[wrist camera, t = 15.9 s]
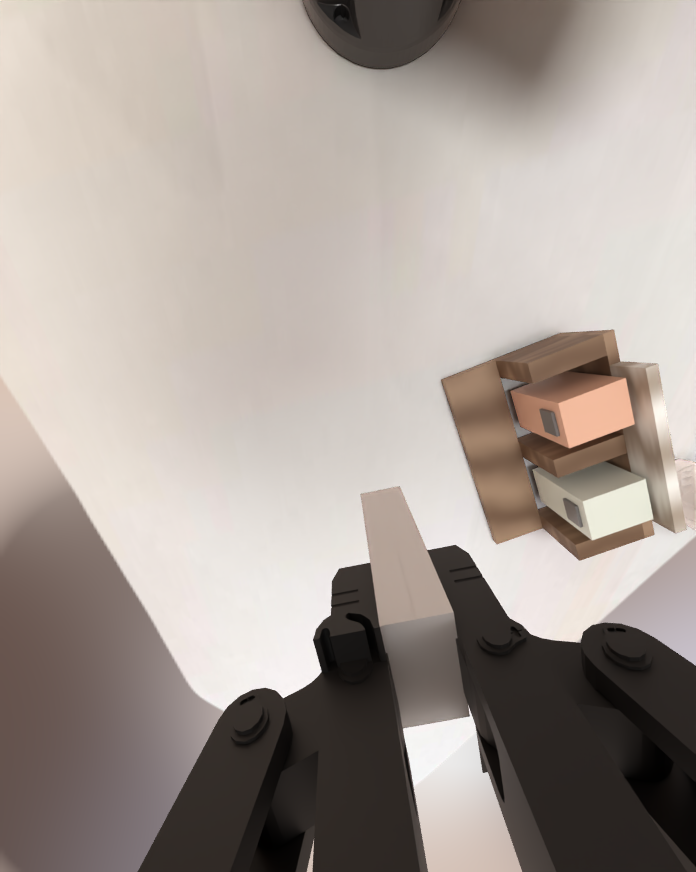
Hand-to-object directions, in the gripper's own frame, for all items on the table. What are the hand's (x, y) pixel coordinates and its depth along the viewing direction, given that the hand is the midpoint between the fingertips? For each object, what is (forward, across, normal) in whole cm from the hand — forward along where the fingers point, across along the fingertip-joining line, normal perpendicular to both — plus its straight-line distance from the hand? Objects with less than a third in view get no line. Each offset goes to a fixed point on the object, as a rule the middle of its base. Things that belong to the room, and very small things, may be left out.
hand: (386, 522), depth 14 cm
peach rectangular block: (+27, +21, -3) cm, 34 cm away
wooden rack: (+28, +18, -9) cm, 35 cm away
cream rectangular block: (+27, +22, -13) cm, 38 cm away
